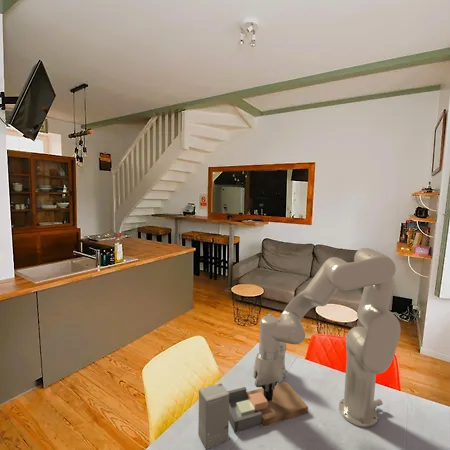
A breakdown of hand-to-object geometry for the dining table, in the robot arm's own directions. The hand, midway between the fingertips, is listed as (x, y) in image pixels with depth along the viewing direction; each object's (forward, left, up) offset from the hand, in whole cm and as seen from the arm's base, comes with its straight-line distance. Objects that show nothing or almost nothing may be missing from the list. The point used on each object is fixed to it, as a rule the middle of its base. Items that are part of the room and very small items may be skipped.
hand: (268, 398), depth 103 cm
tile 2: (+4, 0, -1) cm, 4 cm away
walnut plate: (-3, 0, -4) cm, 5 cm away
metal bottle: (-12, -14, -4) cm, 19 cm away
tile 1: (+9, 0, -3) cm, 10 cm away
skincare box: (+23, +5, -4) cm, 24 cm away
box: (+11, -1, -4) cm, 11 cm away
